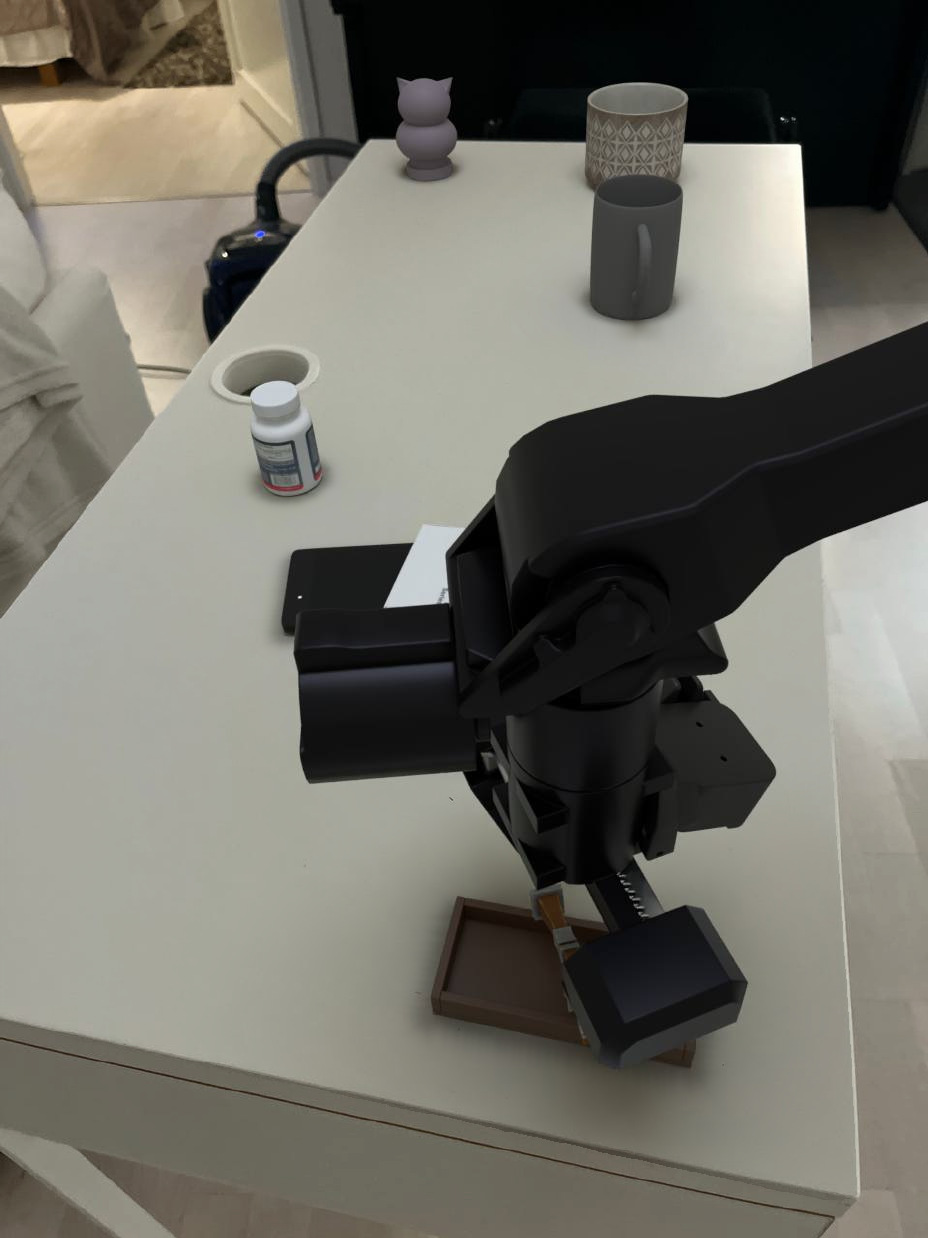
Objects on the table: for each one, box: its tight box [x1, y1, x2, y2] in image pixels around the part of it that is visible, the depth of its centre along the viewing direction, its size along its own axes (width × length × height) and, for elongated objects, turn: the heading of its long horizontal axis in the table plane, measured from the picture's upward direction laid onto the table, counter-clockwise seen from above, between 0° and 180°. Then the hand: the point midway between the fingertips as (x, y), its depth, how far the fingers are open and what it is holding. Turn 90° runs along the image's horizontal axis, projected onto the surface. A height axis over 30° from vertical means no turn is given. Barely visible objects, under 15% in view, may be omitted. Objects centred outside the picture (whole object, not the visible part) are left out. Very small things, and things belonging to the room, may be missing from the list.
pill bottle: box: [249, 380, 323, 497], centre depth 84 cm, size 5×5×9 cm
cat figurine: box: [395, 76, 458, 182], centre depth 134 cm, size 8×8×12 cm
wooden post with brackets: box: [528, 882, 589, 1044], centre depth 50 cm, size 2×8×4 cm, turn 12°
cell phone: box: [280, 542, 414, 634], centre depth 76 cm, size 9×18×1 cm, turn 91°
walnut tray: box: [430, 895, 697, 1069], centre depth 52 cm, size 14×6×2 cm, turn 77°
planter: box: [584, 82, 689, 187], centre depth 129 cm, size 13×13×10 cm
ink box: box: [384, 523, 467, 608], centre depth 65 cm, size 8×5×12 cm, turn 165°
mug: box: [589, 174, 684, 321], centre depth 103 cm, size 14×9×12 cm
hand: (569, 931), depth 49 cm, fingers open, 9 cm apart
